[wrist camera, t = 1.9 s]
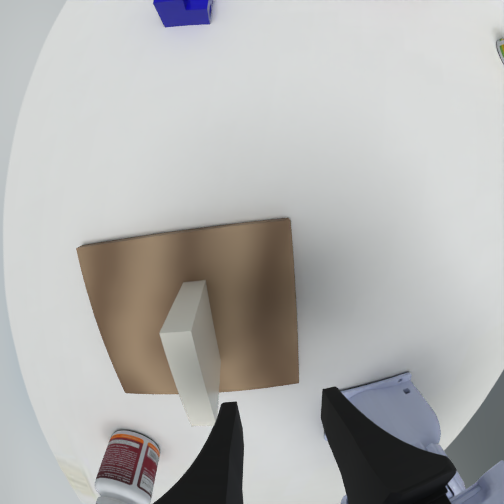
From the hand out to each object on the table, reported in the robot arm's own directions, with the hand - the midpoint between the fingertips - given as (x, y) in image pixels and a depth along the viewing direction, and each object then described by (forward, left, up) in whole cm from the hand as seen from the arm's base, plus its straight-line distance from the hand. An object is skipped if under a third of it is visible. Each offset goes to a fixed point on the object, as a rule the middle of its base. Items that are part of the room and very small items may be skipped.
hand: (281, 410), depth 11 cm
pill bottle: (+16, +17, -11) cm, 26 cm away
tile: (+4, 0, -9) cm, 10 cm away
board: (+6, 0, -10) cm, 12 cm away
